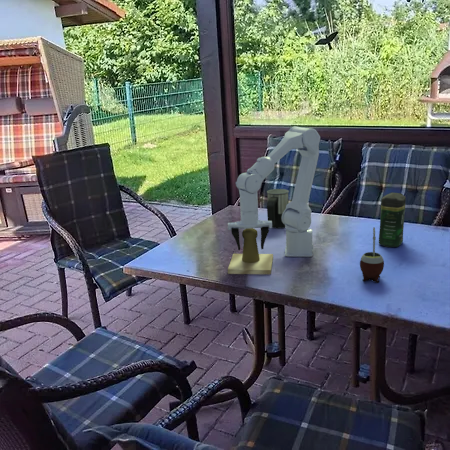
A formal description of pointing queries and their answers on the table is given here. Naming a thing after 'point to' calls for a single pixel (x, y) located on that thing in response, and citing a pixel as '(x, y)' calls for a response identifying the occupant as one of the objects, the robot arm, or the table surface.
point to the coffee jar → (392, 220)
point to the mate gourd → (372, 264)
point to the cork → (250, 246)
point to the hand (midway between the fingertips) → (250, 248)
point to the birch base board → (251, 265)
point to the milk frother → (276, 206)
